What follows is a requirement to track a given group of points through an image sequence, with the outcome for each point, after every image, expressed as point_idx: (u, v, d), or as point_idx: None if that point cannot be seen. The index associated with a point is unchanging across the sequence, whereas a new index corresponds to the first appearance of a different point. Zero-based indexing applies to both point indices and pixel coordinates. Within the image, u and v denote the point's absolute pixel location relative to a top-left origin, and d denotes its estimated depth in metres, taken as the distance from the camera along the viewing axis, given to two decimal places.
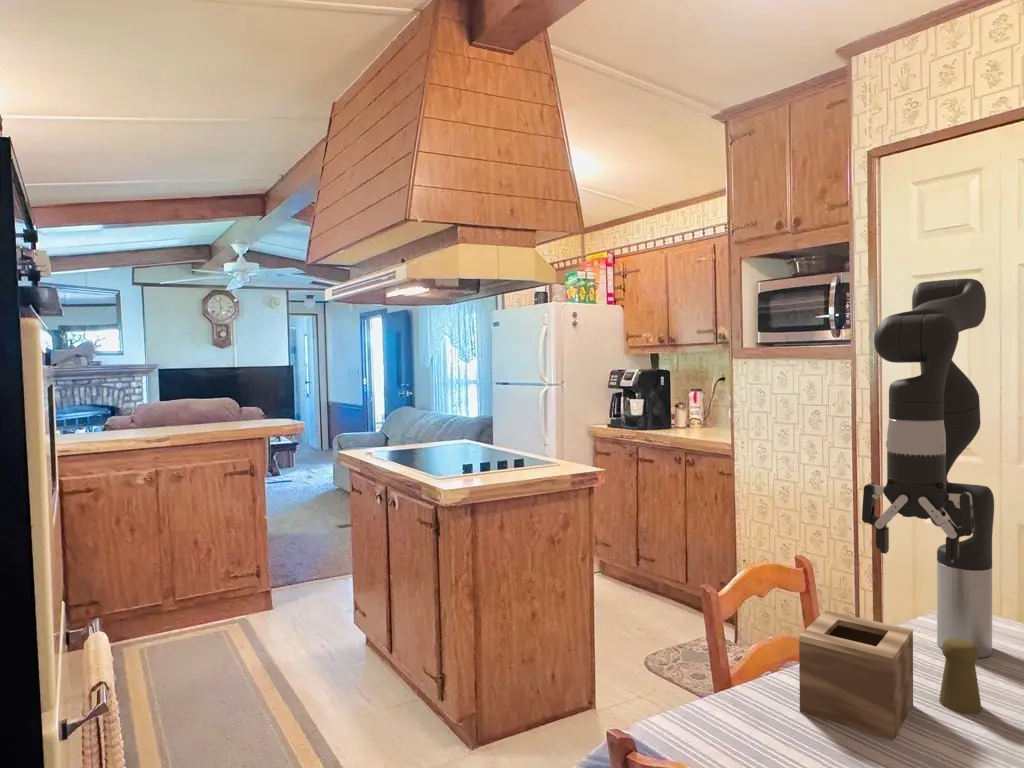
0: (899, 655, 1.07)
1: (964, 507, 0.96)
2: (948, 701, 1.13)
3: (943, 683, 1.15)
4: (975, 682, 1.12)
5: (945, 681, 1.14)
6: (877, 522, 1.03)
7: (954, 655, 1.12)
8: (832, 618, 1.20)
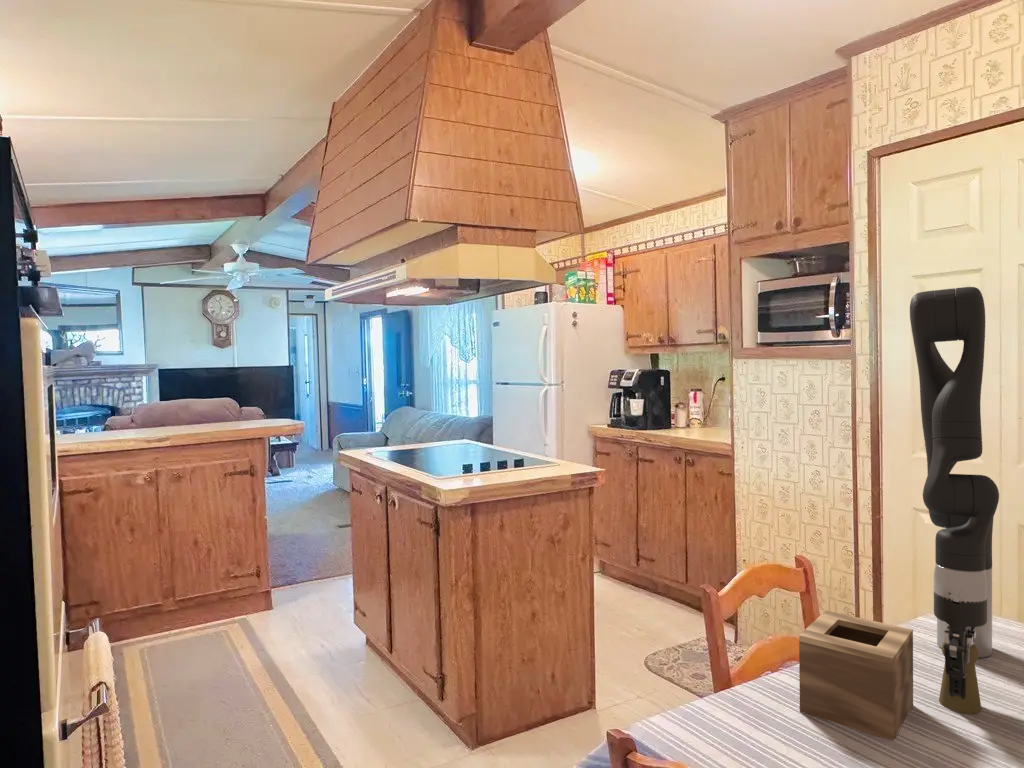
0: (899, 655, 1.07)
1: None
2: (947, 701, 1.13)
3: (943, 683, 1.15)
4: (975, 682, 1.12)
5: (944, 681, 1.14)
6: (965, 673, 1.11)
7: None
8: (832, 618, 1.20)
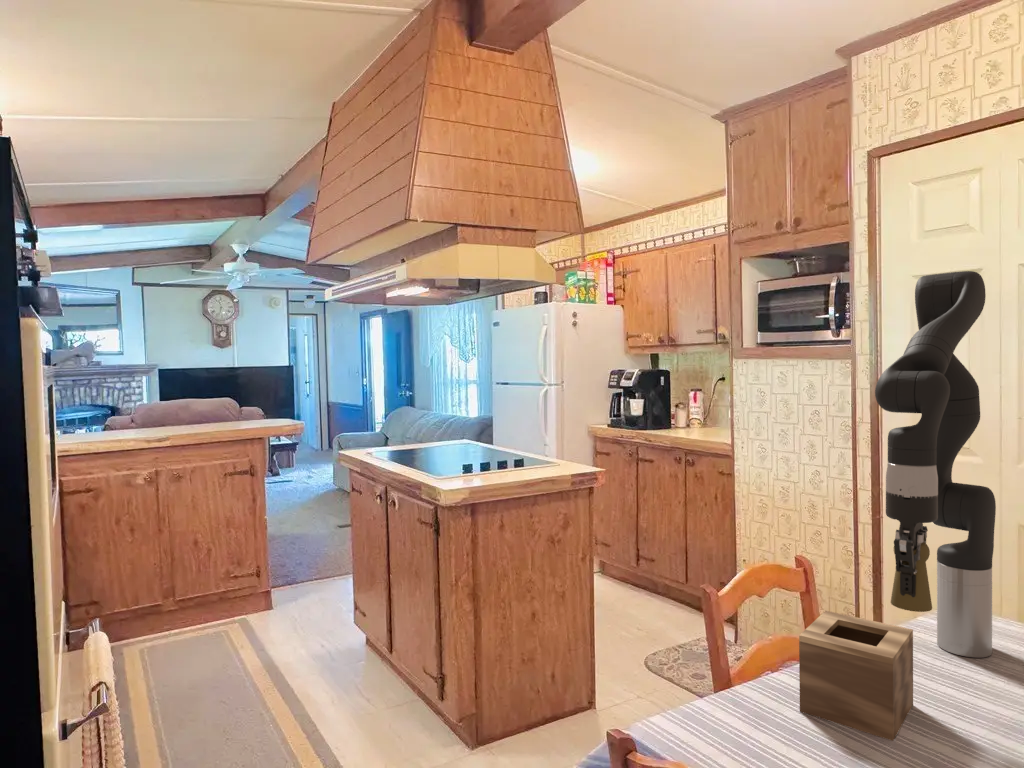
0: (899, 655, 1.07)
1: None
2: (898, 600, 1.12)
3: (894, 583, 1.14)
4: (926, 580, 1.11)
5: (896, 581, 1.13)
6: (915, 570, 1.10)
7: None
8: (832, 618, 1.20)
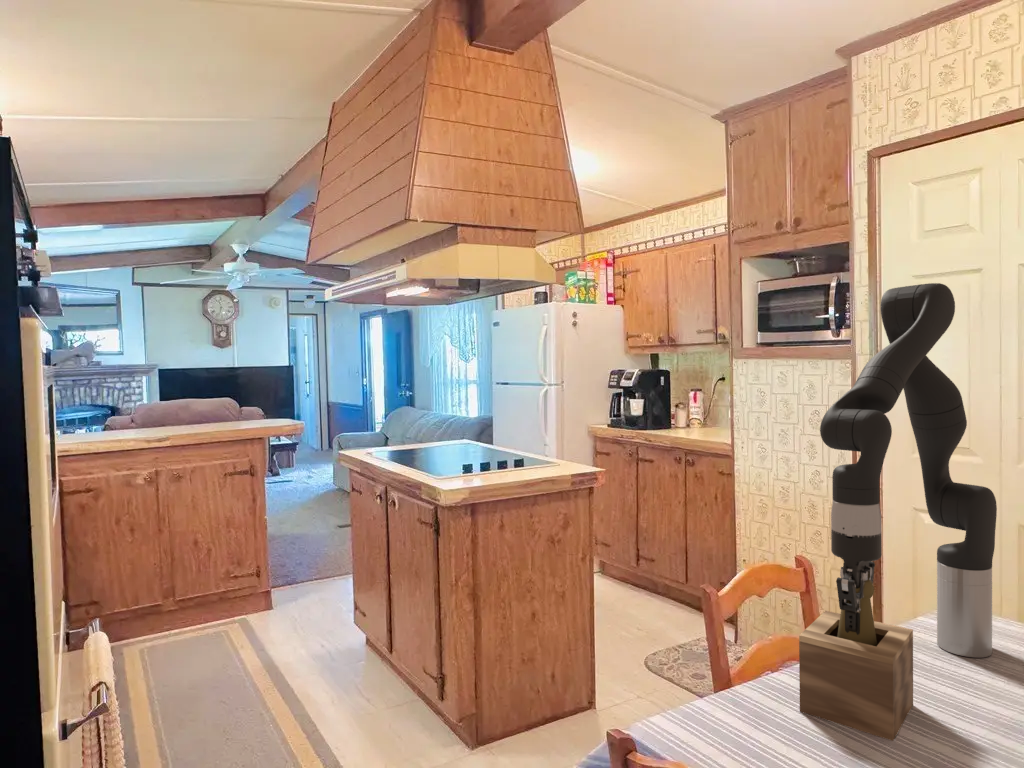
0: (899, 655, 1.07)
1: (872, 572, 1.17)
2: (843, 637, 1.13)
3: (840, 620, 1.14)
4: (870, 617, 1.11)
5: (841, 618, 1.14)
6: (859, 608, 1.10)
7: None
8: (832, 618, 1.20)
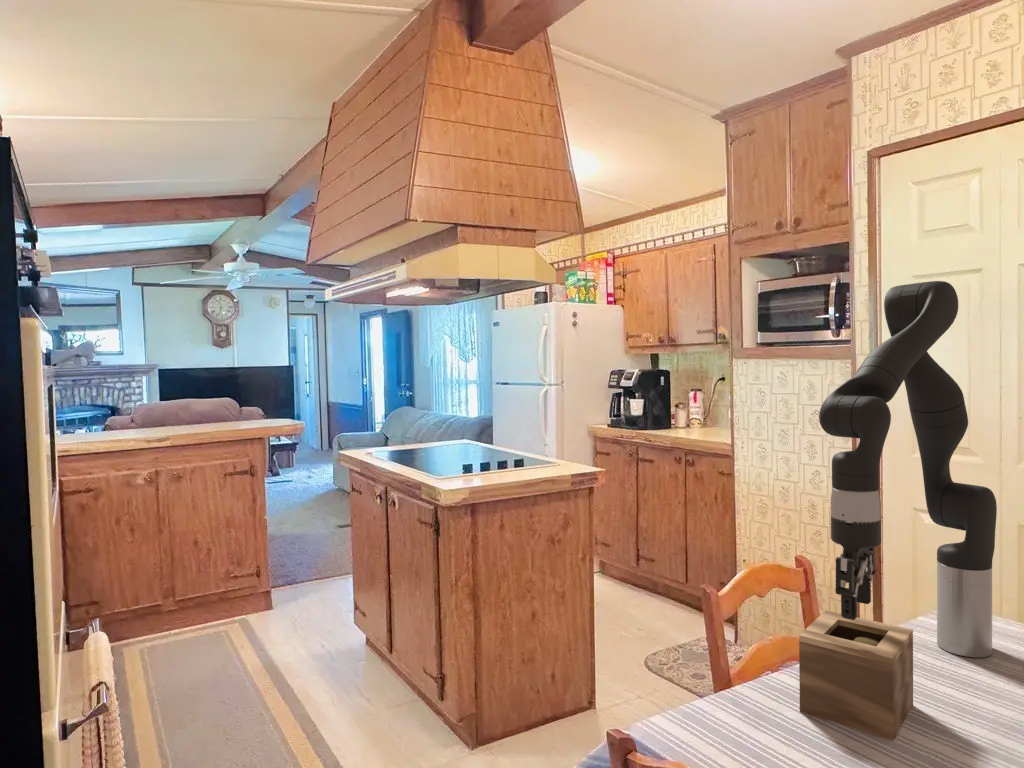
0: (899, 655, 1.07)
1: (873, 552, 1.17)
2: None
3: None
4: None
5: None
6: (855, 592, 1.09)
7: None
8: (832, 618, 1.20)
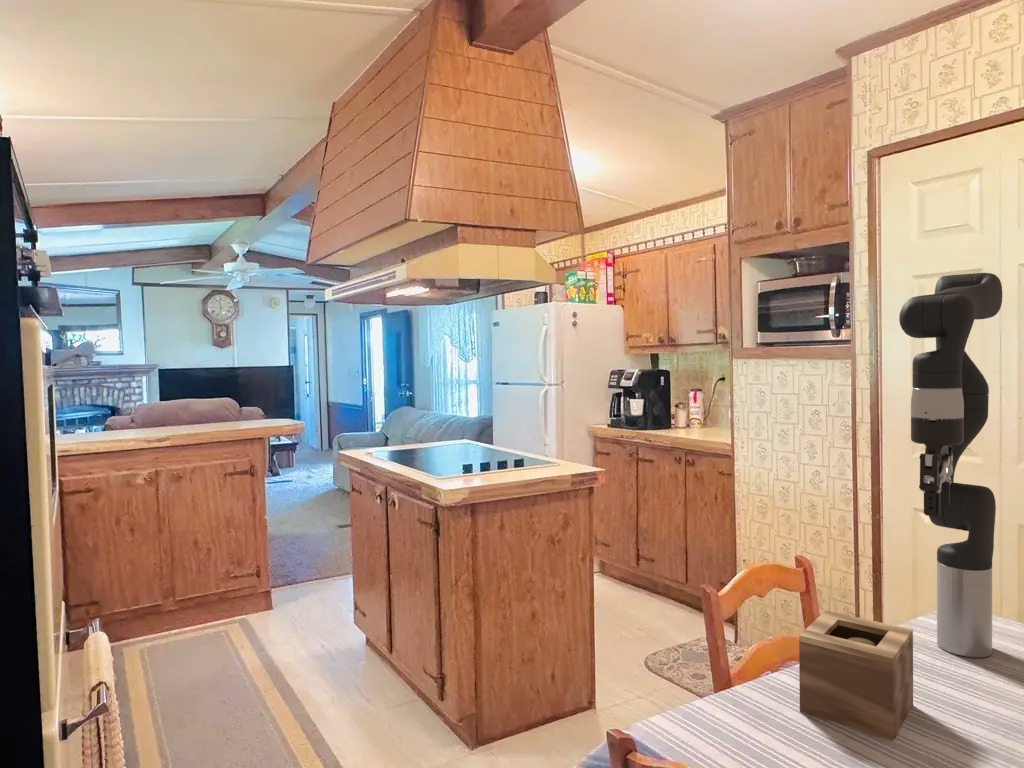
0: (899, 655, 1.07)
1: (951, 456, 1.17)
2: None
3: None
4: None
5: None
6: (939, 488, 1.09)
7: None
8: (832, 618, 1.20)
